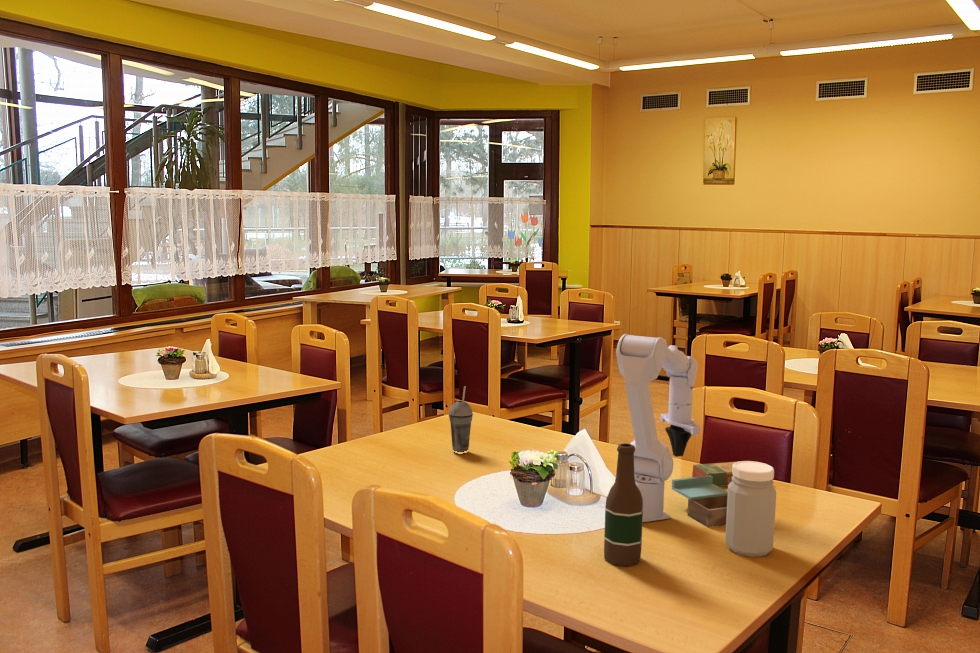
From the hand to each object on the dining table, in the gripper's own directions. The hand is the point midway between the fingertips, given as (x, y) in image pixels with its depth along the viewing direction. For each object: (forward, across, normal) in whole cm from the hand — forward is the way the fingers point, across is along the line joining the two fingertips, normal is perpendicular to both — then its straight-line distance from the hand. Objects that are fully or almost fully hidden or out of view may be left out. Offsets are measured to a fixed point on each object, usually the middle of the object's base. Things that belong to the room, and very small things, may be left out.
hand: (678, 455), depth 198 cm
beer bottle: (+10, -30, +32) cm, 45 cm away
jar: (+10, -34, +4) cm, 36 cm away
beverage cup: (+10, +53, +40) cm, 68 cm away
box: (+10, -17, 0) cm, 20 cm away
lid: (+6, -10, 0) cm, 12 cm away
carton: (+11, +6, -20) cm, 23 cm away
